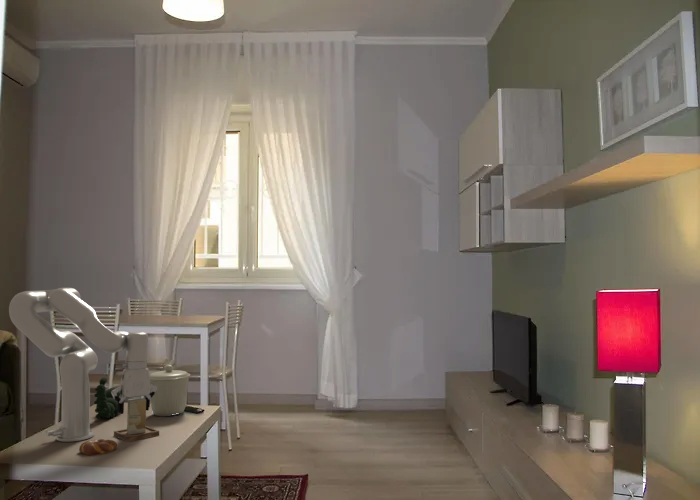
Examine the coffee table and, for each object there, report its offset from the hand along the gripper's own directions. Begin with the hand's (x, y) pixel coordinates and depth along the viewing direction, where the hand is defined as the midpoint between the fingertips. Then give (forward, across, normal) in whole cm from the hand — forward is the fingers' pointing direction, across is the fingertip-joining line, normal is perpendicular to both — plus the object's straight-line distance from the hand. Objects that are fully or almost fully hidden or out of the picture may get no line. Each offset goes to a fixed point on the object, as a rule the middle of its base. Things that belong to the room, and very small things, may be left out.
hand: (133, 411), depth 217 cm
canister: (+9, +26, +23) cm, 36 cm away
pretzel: (+10, -16, -10) cm, 21 cm away
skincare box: (+8, +1, -1) cm, 8 cm away
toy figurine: (+10, +7, +38) cm, 40 cm away
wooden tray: (+9, +1, -1) cm, 9 cm away
